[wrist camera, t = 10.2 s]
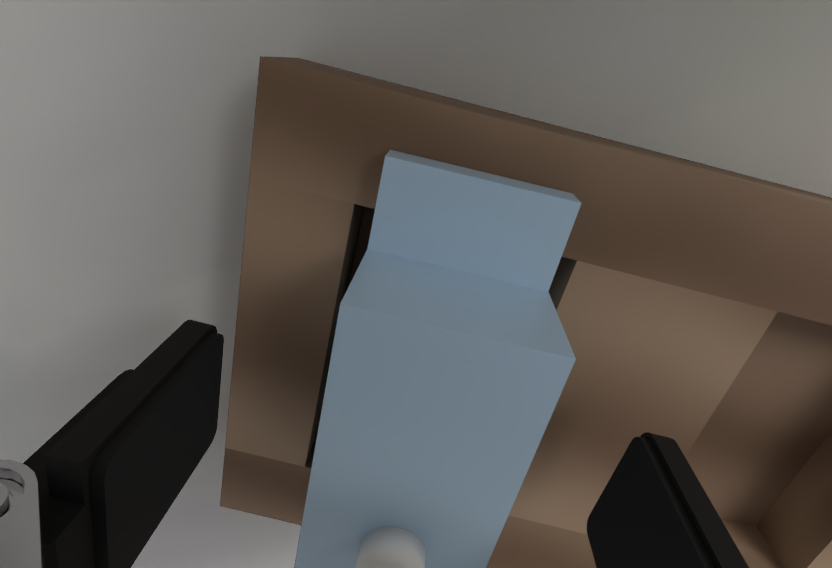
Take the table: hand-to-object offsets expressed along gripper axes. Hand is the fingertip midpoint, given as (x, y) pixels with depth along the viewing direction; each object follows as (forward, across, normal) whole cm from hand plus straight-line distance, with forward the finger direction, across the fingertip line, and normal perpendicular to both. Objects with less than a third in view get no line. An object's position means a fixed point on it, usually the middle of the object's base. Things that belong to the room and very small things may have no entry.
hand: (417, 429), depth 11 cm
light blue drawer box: (+4, 0, 0) cm, 4 cm away
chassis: (+4, -5, 0) cm, 7 cm away
